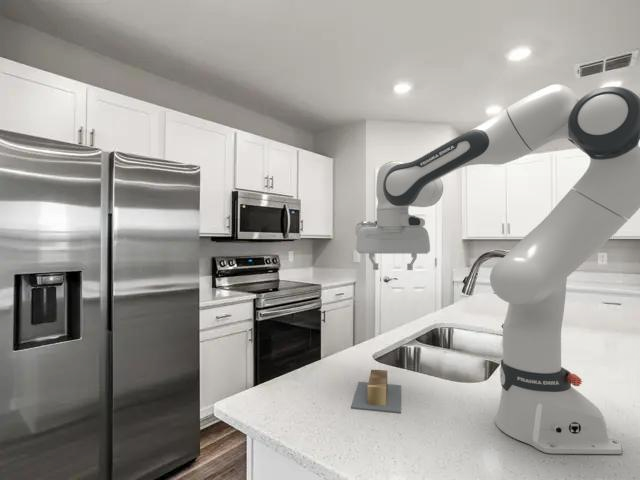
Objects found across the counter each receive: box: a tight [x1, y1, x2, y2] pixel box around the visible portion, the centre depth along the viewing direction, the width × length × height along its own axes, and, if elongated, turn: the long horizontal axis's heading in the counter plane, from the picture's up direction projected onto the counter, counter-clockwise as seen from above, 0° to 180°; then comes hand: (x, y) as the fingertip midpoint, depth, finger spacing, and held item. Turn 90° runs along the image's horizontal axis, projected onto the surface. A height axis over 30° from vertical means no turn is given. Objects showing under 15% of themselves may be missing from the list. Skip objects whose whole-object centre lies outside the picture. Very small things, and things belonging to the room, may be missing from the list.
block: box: [367, 369, 388, 406], centre depth 95 cm, size 4×4×12 cm
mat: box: [350, 381, 402, 414], centre depth 95 cm, size 12×16×1 cm
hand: (392, 269), depth 101 cm, fingers open, 8 cm apart
